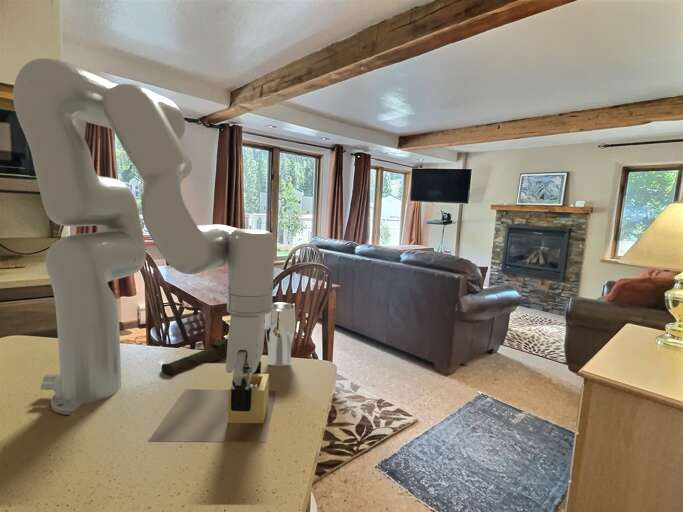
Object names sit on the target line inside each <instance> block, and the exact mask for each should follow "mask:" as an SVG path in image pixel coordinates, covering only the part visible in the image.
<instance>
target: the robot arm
mask: <svg viewBox="0 0 683 512" xmlns="http://www.w3.org/2000/svg"><path fill="white" fill-rule="evenodd" d="M12 93H13V94H12V98H13V99H12V100H13V106H14V111H15V114H16V117H17V120H18V122H19V125H20V127H21V129H22V131H23V132H22V133H23V135H24V136H25V139H26V141H27V144H28V146H29V147H28V148H29V151H30V153H31V159H32V164H33V168H34V172H35V177H36V180H37V185H38V189H39V193H40V197H41V200H42V205H43V209H44V211H45V213H46V216H47V218H49V220H51V221H52V222H53V223H54V224H56V225H59V226H62V227H90V226H91V227H92V226H96V228H97V232H87V233H77V234H70V235H67V236H64V237H62V238H59V239H57V240H56V241H54V242H53V243H52V244H51V245H50V247H49V248H48V249H47V252H46V253H45V269H46V273H47V274H48V278H49V281H50V285H51V289H52V291H53V296H54V304H55V315H56V328H57V330H56V331H57V345H58V359H59V374H56V373H55V374H54V373H51V374H50V373H48V374H45V375H44V376H43V379H42V383H41V385H40V390H41V391H42V390H44V391H49V390H53V392H54V395H53V396H52V398H51V400H50V406H51V409H52V411H54V412H55V413H57V414H61V415H67V416H70V415H71V414H72V413H74V412H75V411H76V410H77V409H78V408H79V407H81V406H82V405H83V404H90V403H95V402H98V401H102V400H105V399H107V398H110V397H111V396H113V395H116V393H118V392H119V391H120V389H121V388H122V368H121V367H122V366H121V365H122V364H121V363H122V362H121V342H120V341H121V339H120V338H121V337H120V336H121V335H120V333H121V332H120V315H119V305H118V304H119V303H118V301H117V298H116V296H115V294H114V292H113V291H112V289H111V287H110V285H109V282H112V281H114V280H115V281H116V280H120V279H122V278H126V277H130V276H133V275H135V274H137V273H138V272H140V270H141V269H142V268H143V267H144V265H145V263H146V260H147V246H146V242H145V237H144V232H143V231H144V230H143V226H142V222H141V217H140V212H139V208H138V203H137V199H136V198H135V195H134V193H133V192H132V190H131V189H130V188H129V186H127V184H125V183H124V182H123V181H122V180H119V179H117V178H114V177H109V176H102V175H98V174H97V173H96V170H95V167H94V164H93V160H92V153H91V151H90V147H89V144H87V141H86V139H85V138H84V136H83V135H82V134H81V132H80V131H79V130H78V128H77V127H76V126H75V124H74V123H73V120H74V119H75V120H78V121H81V122H85V123H89V124H92V125H95V126H96V125H97V126H100V127H104V128H107V129H111V130H112V131H113V132H114V134H115V136H116V138H117V139H118V141H119V143H120V144H121V147H122V148H123V150H124V151H125V153H126V155H127V157H128V159H129V160H130V162H131V164H132V166H133V168H134V169H135V171H136V173H137V174H138V176H139V178H140V180H141V182H142V183H141V184H142V189H141V194H140V195H141V197H140V199H141V203H140V204H141V214H142V220H143V223H144V226H145V228H146V231H147V233H148V235H150V236H149V237H151V239H152V241H153V243H154V245H155V246H156V248H157V250H158V251H159V253H160V254H161V256H162V257H163V259H164V260H165V262H166V263H167V264H168V265H169V266H170V267H171V268H173V269H174V270H175V271H177V272H179V273H181V274H185V275H196V274H201V273H203V272H207V271H210V270H213V269H217V268H222V267H225V266H227V293H226V294H227V296H226V297H227V298H226V312H228V314H230V320H229V326H228V333H227V334H228V335H227V339H228V345H227V358H225V359H226V360H225V361H226V362H225V371H226V373H233V374H232V381H231V383H232V387H231V410H232V411H250V409H251V394H252V387H250V382H251V375H252V374H262V373H261V371H262V370H261V369H262V361H261V359H262V356H263V353H264V346H265V344H264V343H265V336H266V331H265V318H266V314H268V313H270V312H271V311H272V303H273V294H274V293H273V290H274V273H275V271H274V268H275V253H276V251H275V249H276V248H275V247H276V239H275V236H274V233H272V232H271V231H268V230H265V229H258V228H257V229H256V228H238V227H233V226H229V225H225V224H219V223H216V224H215V223H213V224H212V223H211V224H200V225H199V224H198V225H197V224H196V221H195V220H194V218H193V216H192V215H191V213H190V211H189V209H188V208H187V206H186V204H185V201H184V198H183V194H182V187H181V186H182V181H183V180H184V179H185V178H187V177H188V176H189V175H190V173H191V171H192V169H193V163H192V161H191V159H190V157H189V155H188V154H187V153H188V152H187V151H186V150H185V148H184V147H183V144H182V143H181V142H180V141H181V140H182V138H183V136H184V134H185V130H186V120H185V117H184V115H183V113H182V110H181V109H180V108H179V106H178V105H176V103H174V102H173V101H172V100H170V99H168V98H167V97H164V96H162V95H160V94H157V93H156V92H153V91H151V90H150V89H149V90H148V88H145V87H142V86H139V85H136V84H132V83H131V84H130V83H121V84H120V83H119V84H118V83H116V82H114V81H111V80H109V79H106V78H104V77H102V76H99V75H98V74H95V73H92V72H91V71H88V70H86V69H84V68H81V67H78V66H76V65H74V64H72V63H69V62H65V61H63V60H58V59H54V58H46V57H45V58H36V59H31V60H30V61H28V62H27V63H25V64H24V65H23V66H22V67H21V69H20V70H19V71H18V73H17V75H16V77H15V80H14V84H13V91H12ZM243 374H247V380H245V378H243Z"/></svg>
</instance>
